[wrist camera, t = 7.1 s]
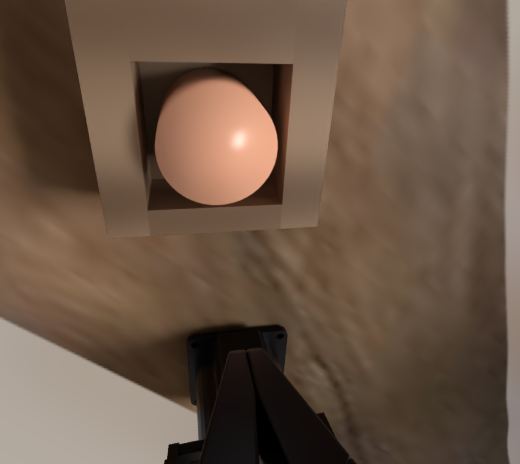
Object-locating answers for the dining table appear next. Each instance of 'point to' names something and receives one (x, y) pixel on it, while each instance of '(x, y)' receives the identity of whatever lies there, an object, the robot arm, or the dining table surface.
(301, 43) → the button console
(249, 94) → the peach rounded dome
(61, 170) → the dining table surface
